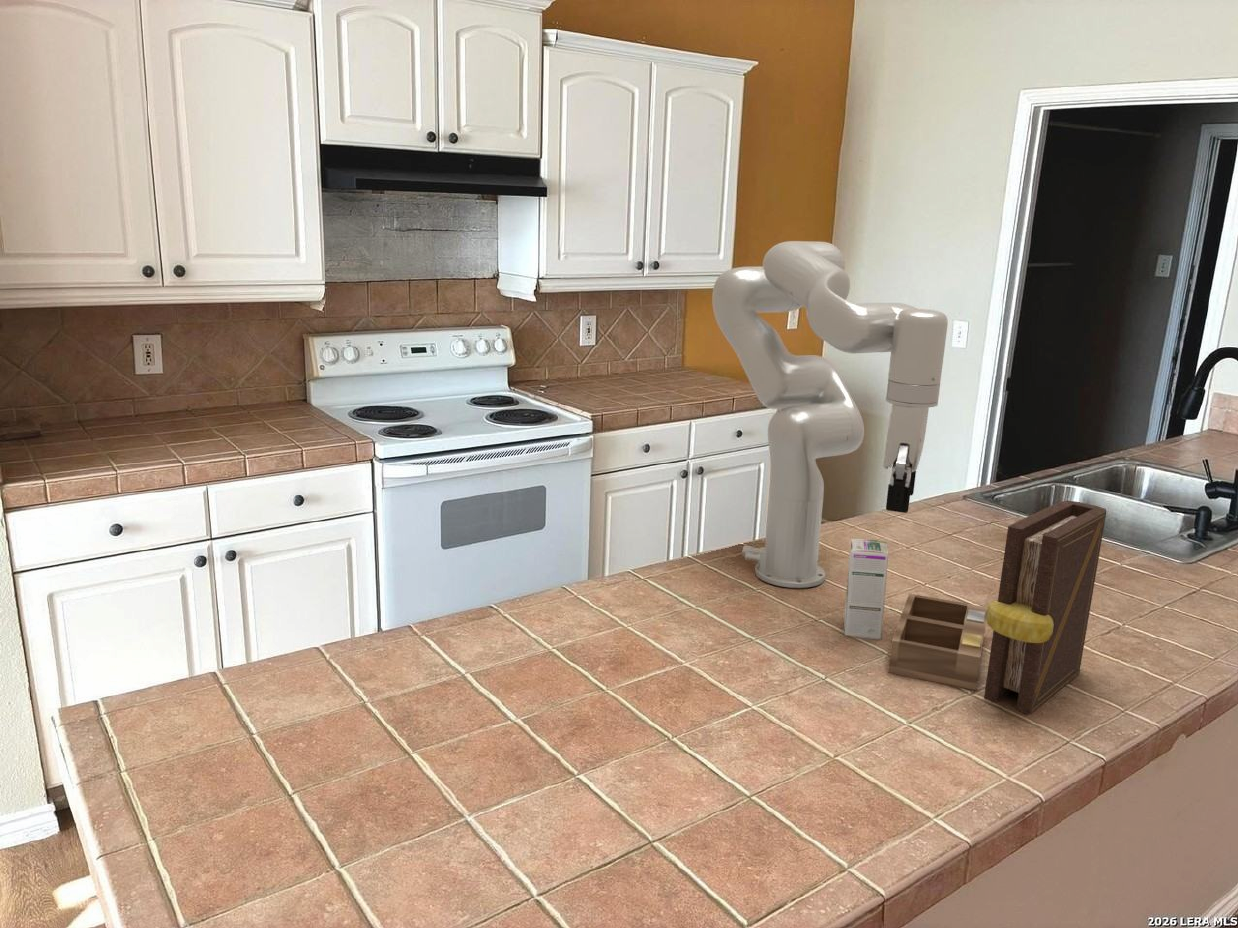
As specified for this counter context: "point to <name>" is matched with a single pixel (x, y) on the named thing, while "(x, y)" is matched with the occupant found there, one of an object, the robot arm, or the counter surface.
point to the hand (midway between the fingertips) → (899, 502)
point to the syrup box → (866, 588)
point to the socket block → (939, 641)
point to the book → (1043, 603)
